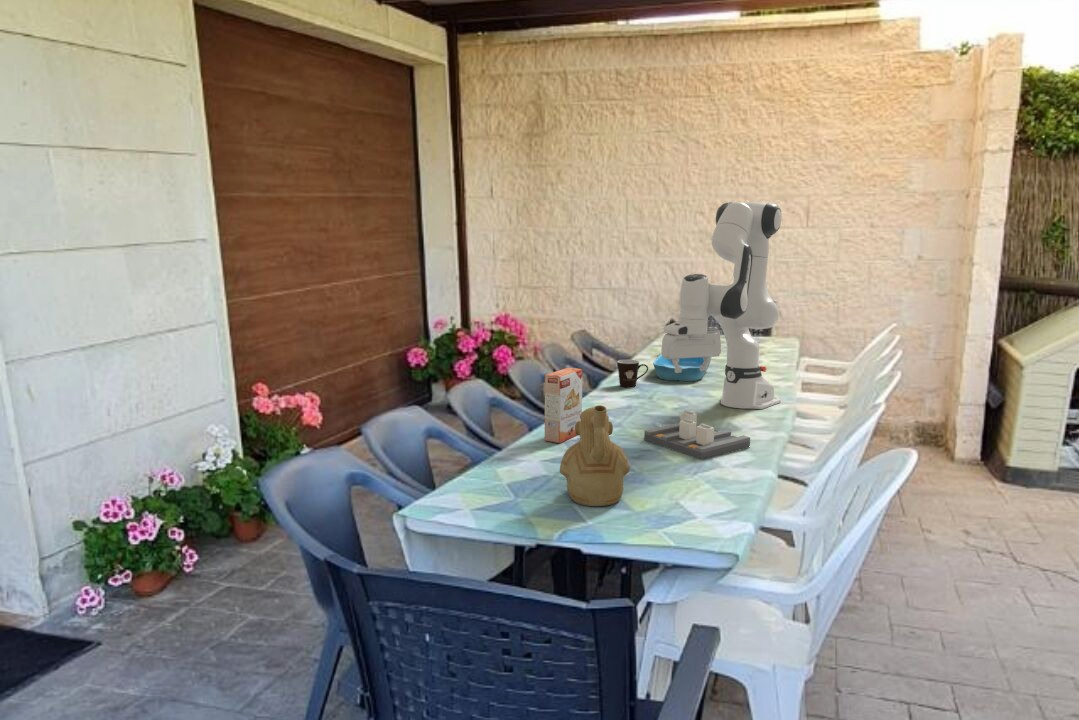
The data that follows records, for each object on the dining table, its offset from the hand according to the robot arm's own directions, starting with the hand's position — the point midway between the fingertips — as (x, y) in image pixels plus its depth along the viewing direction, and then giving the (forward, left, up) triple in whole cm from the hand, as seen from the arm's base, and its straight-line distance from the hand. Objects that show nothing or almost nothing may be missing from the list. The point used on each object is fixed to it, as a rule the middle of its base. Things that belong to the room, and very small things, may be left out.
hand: (690, 371), depth 244 cm
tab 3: (+10, +16, -18) cm, 26 cm away
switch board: (+7, +9, -20) cm, 23 cm away
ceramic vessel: (+60, +27, -20) cm, 69 cm away
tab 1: (+3, +2, -18) cm, 18 cm away
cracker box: (+35, -20, -20) cm, 44 cm away
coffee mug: (-29, -62, -20) cm, 71 cm away
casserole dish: (-62, -66, -20) cm, 93 cm away
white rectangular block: (+10, +9, -18) cm, 22 cm away
